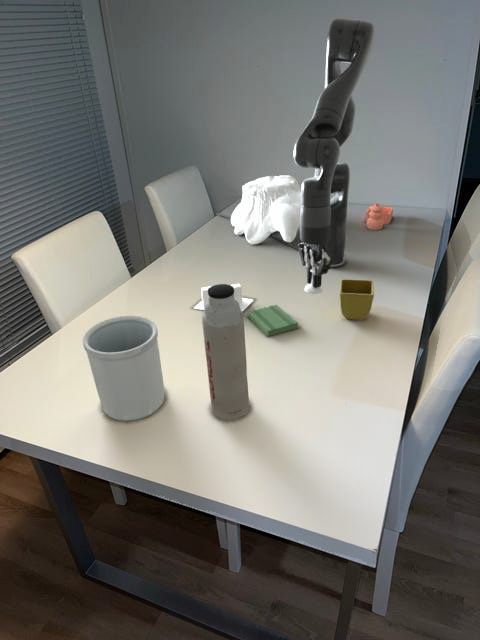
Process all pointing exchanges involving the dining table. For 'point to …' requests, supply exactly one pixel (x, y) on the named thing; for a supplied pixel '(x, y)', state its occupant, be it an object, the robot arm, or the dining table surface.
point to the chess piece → (311, 289)
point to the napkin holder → (237, 296)
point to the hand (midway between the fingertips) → (314, 284)
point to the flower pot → (356, 298)
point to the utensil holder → (126, 366)
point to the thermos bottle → (225, 353)
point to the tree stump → (268, 209)
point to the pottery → (378, 216)
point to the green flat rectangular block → (272, 320)
